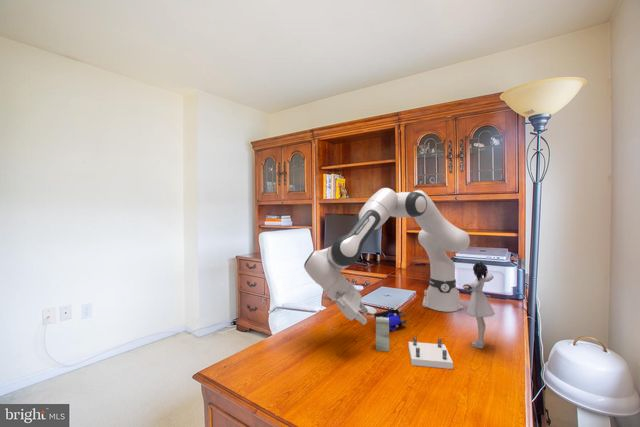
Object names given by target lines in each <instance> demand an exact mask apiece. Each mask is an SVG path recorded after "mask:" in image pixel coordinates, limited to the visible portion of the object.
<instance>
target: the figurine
mask: <svg viewBox="0 0 640 427" xmlns="http://www.w3.org/2000/svg"><path fill="white" fill-rule="evenodd" d="M472 270H473V274H474V277H475V276H476V279H475V280H474V281H472V282H468V283H467V284H463V285H462V286H461V288H463V290H464V291H466V292H468V293H469V292H470V293H471V294H470V299H469V303H468V308H467V311H466V314H467V315H468V316H470V317H473V318H475V320H476V323H477V331H478V333H477V334H478V335H477V336H478V338H477V340H474V341H472V342H471V346H472V347H473V348H477V349H483V348H484V347H485V338H484V337H485V331H486V322H485V319H484V318H488V317H489V318H490V317H493V316H495V314H496V313H495V310H494V309H493V307H492V305H491V303H490V302H489V299H488V298H487V296H486V295H485V293H484V292H483V288H484V286H485V283H489V282H491V281H492V280H493V279H494V275H493V274H491V273H488V267H487V265H486V264H484V263H483V262H482V261H480V262H476V263H474V264H473V267H472Z"/></svg>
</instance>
